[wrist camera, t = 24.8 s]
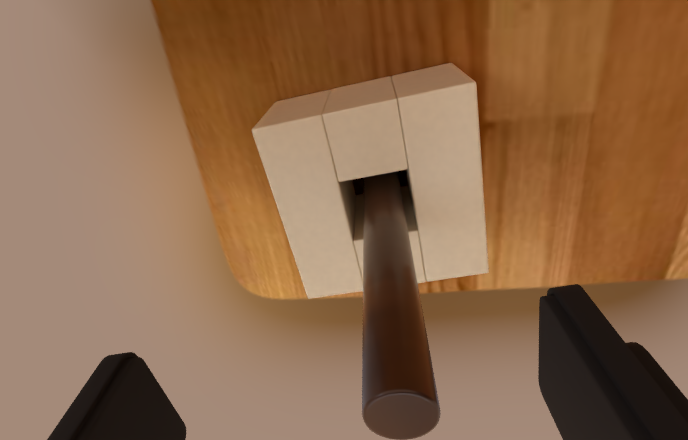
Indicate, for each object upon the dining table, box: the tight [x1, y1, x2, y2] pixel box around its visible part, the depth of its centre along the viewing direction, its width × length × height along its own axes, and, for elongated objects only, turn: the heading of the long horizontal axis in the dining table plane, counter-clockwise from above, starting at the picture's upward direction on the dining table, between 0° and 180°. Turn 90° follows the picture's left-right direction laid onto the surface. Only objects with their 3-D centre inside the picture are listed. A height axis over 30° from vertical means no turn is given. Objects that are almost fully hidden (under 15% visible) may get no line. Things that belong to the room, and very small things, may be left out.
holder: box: [252, 63, 489, 299], centre depth 20 cm, size 9×9×5 cm
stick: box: [362, 171, 440, 440], centre depth 16 cm, size 2×2×15 cm
